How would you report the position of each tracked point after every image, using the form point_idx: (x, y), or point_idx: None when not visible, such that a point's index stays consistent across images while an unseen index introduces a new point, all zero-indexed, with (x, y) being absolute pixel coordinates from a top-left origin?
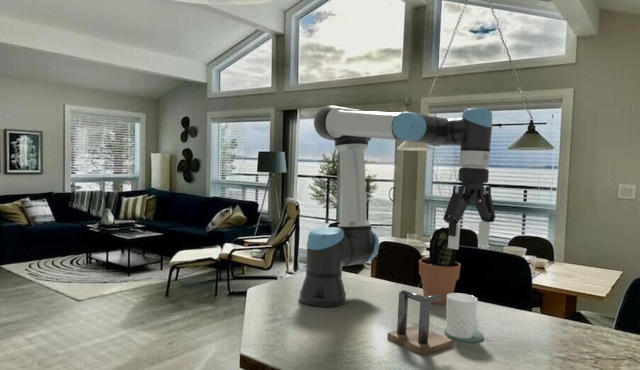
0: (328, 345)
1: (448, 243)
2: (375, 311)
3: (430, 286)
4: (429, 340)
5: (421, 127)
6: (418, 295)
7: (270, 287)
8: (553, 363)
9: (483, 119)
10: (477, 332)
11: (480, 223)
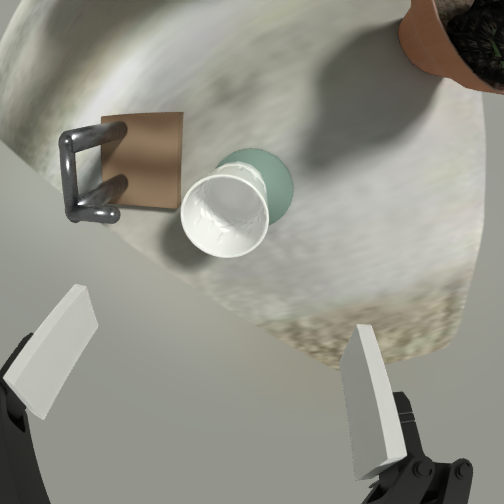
0: (33, 101)
1: (64, 298)
2: None
3: (409, 24)
4: (136, 183)
5: None
6: (64, 195)
7: None
8: (261, 326)
9: None
10: (280, 208)
11: (381, 446)
